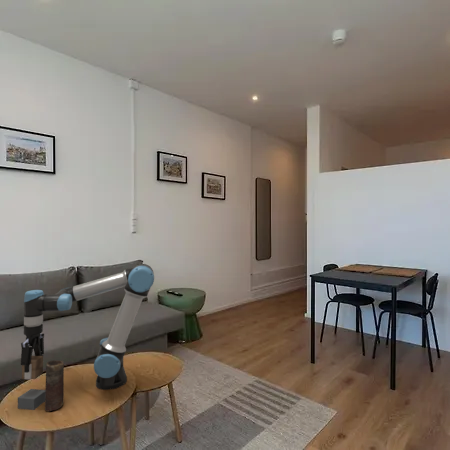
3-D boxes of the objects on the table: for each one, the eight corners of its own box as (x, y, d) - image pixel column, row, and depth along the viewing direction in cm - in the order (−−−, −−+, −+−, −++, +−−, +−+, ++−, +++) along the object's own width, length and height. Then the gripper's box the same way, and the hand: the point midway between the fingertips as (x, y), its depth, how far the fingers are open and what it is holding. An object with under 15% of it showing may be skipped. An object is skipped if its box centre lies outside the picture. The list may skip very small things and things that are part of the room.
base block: (46, 400, 150) (46, 390, 150) (33, 410, 142) (33, 399, 142) (30, 399, 151) (31, 388, 151) (17, 408, 143) (17, 397, 143)
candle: (51, 402, 148) (51, 358, 148) (67, 402, 148) (67, 359, 148) (41, 412, 141) (41, 365, 141) (57, 412, 140) (58, 366, 141)
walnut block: (30, 373, 150) (30, 355, 150) (42, 373, 150) (43, 356, 150) (21, 379, 144) (22, 361, 144) (35, 379, 144) (35, 361, 144)
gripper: (37, 318, 157) (37, 366, 157) (11, 331, 138) (10, 385, 138) (53, 318, 157) (52, 366, 156) (28, 331, 138) (27, 385, 138)
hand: (32, 375), depth 147 cm, fingers closed on walnut block, 6 cm apart
